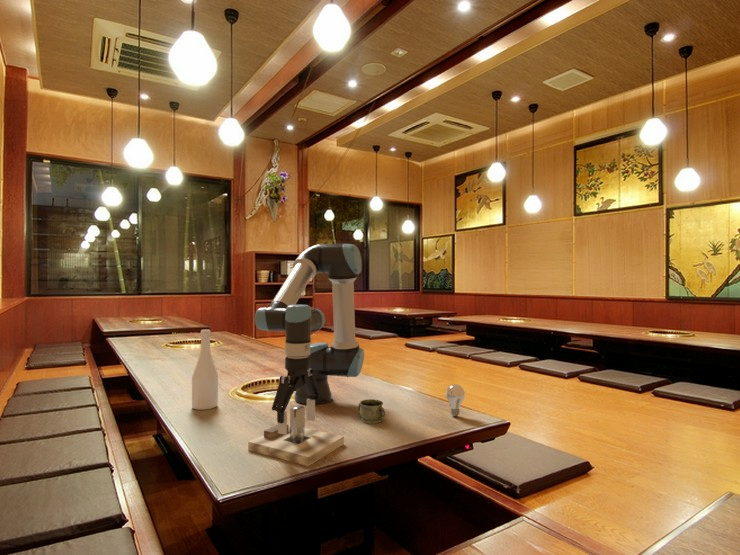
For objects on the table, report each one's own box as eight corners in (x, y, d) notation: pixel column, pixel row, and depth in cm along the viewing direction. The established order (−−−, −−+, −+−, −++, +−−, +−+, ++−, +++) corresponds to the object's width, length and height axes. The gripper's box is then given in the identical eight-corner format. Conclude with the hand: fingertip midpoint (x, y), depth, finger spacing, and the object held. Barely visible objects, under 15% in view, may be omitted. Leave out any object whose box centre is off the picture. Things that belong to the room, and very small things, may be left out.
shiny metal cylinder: (286, 448, 133) (287, 408, 133) (295, 443, 137) (296, 404, 137) (298, 451, 131) (298, 410, 131) (307, 446, 135) (307, 406, 135)
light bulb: (453, 420, 161) (453, 387, 161) (441, 415, 167) (442, 383, 167) (468, 417, 164) (468, 385, 164) (456, 412, 170) (456, 381, 170)
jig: (248, 450, 132) (248, 434, 132) (287, 431, 148) (287, 418, 148) (308, 466, 121) (308, 449, 121) (343, 444, 137) (343, 429, 137)
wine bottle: (187, 406, 173) (188, 329, 173) (210, 401, 180) (211, 327, 180) (198, 412, 167) (199, 332, 167) (222, 406, 174) (223, 330, 174)
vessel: (350, 419, 161) (350, 402, 161) (365, 413, 168) (365, 396, 168) (377, 426, 154) (378, 408, 154) (391, 420, 161) (392, 402, 161)
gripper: (280, 364, 121) (279, 442, 122) (331, 351, 143) (330, 417, 143) (259, 361, 125) (258, 437, 125) (312, 349, 147) (311, 413, 147)
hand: (297, 426), depth 134 cm, fingers open, 13 cm apart
